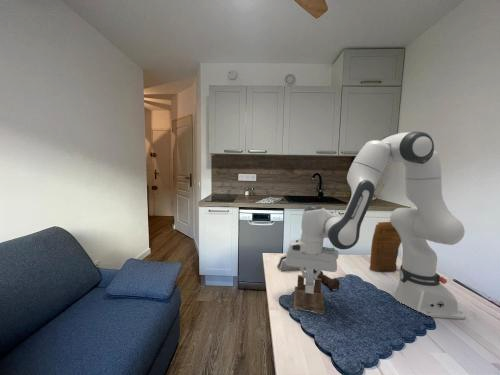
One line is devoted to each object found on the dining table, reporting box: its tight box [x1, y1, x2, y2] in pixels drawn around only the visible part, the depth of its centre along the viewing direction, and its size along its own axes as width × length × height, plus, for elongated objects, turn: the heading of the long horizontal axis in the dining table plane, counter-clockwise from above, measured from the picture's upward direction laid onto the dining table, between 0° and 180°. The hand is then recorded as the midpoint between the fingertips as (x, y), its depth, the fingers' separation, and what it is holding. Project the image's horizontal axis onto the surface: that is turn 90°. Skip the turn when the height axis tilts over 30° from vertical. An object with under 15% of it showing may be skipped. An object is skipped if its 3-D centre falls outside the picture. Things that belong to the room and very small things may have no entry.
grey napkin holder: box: [276, 254, 306, 271], centre depth 119 cm, size 17×5×10 cm, turn 100°
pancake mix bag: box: [368, 221, 402, 273], centre depth 118 cm, size 7×19×28 cm, turn 97°
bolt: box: [313, 269, 341, 291], centre depth 106 cm, size 6×5×15 cm
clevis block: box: [292, 274, 326, 315], centre depth 91 cm, size 12×15×7 cm
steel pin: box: [304, 268, 315, 294], centre depth 90 cm, size 3×16×3 cm, turn 165°
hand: (309, 277), depth 90 cm, fingers closed on steel pin, 3 cm apart
